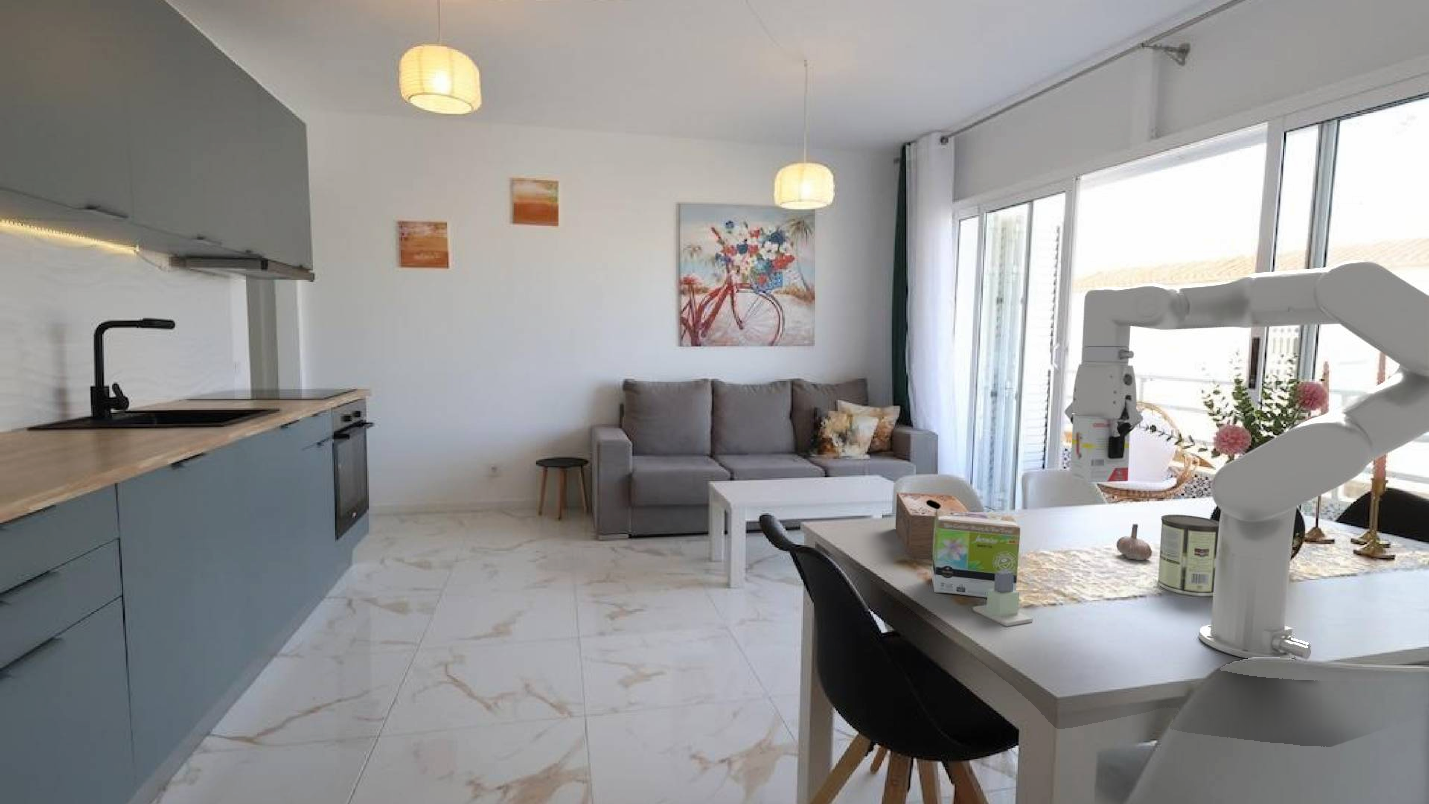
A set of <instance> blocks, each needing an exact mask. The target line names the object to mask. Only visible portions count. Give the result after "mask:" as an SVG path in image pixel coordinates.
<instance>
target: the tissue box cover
mask: <svg viewBox="0 0 1429 804" xmlns="http://www.w3.org/2000/svg"><path fill="white" fill-rule="evenodd" d="M895 505H896V507H895V525H894V527H895V528H896V529H895V531H896V530H897V531H896V533H897V535H898V537H899V539H901V540H900V541H901V542H900V543H902V545H903V546H902V547H903V548H904V551H905V552H906V554H907V556H908V558H920V557H923V558H922V559H932V554H933V539H934V524H935V512H936V510H947V511H959V512H971V511H970V510H969V509H968V508H967V507H966V506H965V505H964V504H963V503H962V502H961V501H960V500H959V499H958V498H957V496H955V494H941V493H938V494H936V493H920V492H919V493H917V492H899V491H898V492H896V504H895Z"/></svg>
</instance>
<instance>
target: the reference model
mask: <svg viewBox="0 0 1429 804" xmlns="http://www.w3.org/2000/svg"><path fill="white" fill-rule="evenodd" d="M1013 582H1014V572H1011V571H1008V570H1003V571H996V572H995V584H994V589H988V595H987V600H986V604H984V605H977V606H973V607H972V611H974V612H976V613H978V614H980V615H982V616H984V617H986V618H988V619H990V620H993V621H995V622H996V623H998V624H1001V625H1003V626H1005V627H1009V626H1010V627H1011V626H1016V625H1017V626H1018V625H1021V624H1028V623H1032V622H1033V621H1034V620H1033V618H1032V617H1031V616H1028V615H1025V614H1024V613H1021V612H1019V610H1020V609H1019V608H1020V591H1017V589H1016V590H1013Z"/></svg>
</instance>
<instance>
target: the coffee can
mask: <svg viewBox="0 0 1429 804" xmlns="http://www.w3.org/2000/svg"><path fill="white" fill-rule="evenodd" d="M1160 520H1161V527H1160V528H1161V529H1160V530H1161V531H1160V547H1159V558H1158V559H1159V560H1158V575H1157V576H1158V577H1157V585H1158V586H1159V587H1160V586H1161V588H1162V589H1164V588H1165V589H1164V590H1167V591H1169V592H1173V593H1177V594H1181V595H1185V596H1195V597H1213V592H1214V579H1215V566H1216V553H1217V542H1218V531H1219V522H1220V521H1218V520H1215V519H1212V518H1209V517H1208V518H1207V517H1203V516H1195V515H1189V514H1186V515H1185V514H1166V515H1162V516H1160Z"/></svg>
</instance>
